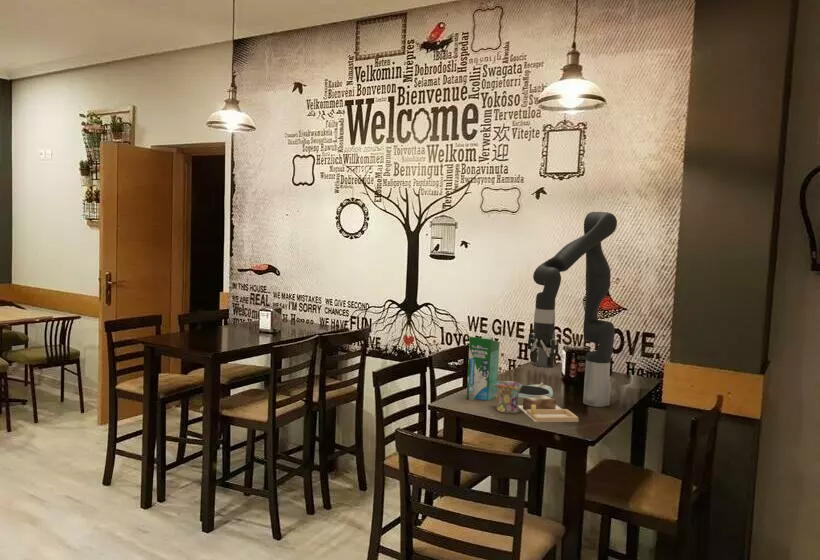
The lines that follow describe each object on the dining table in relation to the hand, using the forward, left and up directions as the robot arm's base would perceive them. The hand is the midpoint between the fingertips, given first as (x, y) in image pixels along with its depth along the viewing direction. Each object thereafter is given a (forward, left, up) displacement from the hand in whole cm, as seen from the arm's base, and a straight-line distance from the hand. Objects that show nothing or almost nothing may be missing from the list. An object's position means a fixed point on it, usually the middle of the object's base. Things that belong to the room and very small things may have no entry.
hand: (541, 364), depth 235 cm
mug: (+13, -1, -18) cm, 22 cm away
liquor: (-32, -78, -18) cm, 86 cm away
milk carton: (+17, -18, -18) cm, 31 cm away
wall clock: (-7, -24, -19) cm, 31 cm away
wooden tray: (-1, +5, -18) cm, 19 cm away
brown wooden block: (0, 0, -17) cm, 17 cm away
